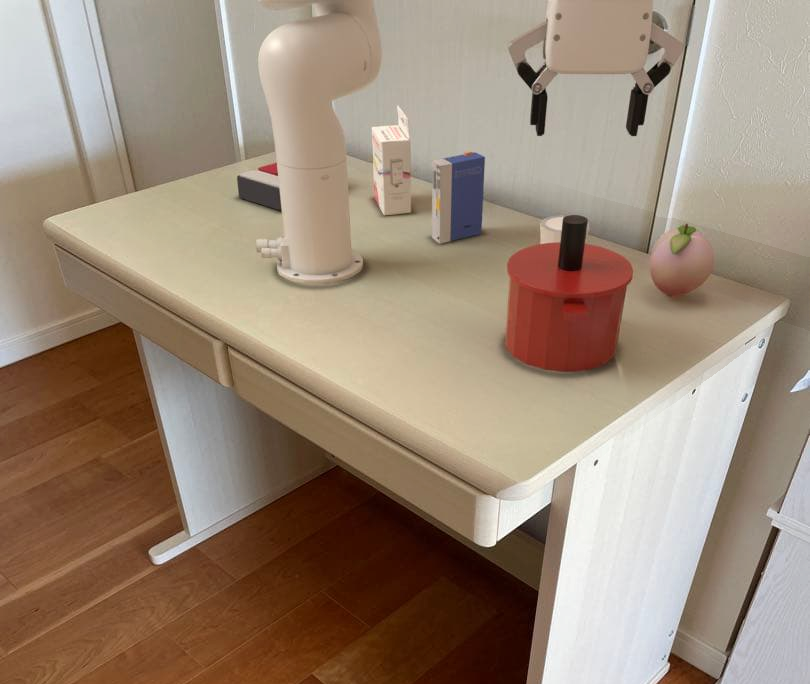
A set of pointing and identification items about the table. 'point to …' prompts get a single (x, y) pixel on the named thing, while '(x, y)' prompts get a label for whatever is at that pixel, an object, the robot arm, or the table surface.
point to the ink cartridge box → (392, 166)
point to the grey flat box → (261, 186)
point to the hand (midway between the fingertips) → (585, 132)
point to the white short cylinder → (553, 229)
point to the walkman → (457, 196)
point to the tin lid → (570, 265)
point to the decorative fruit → (681, 261)
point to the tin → (562, 329)
